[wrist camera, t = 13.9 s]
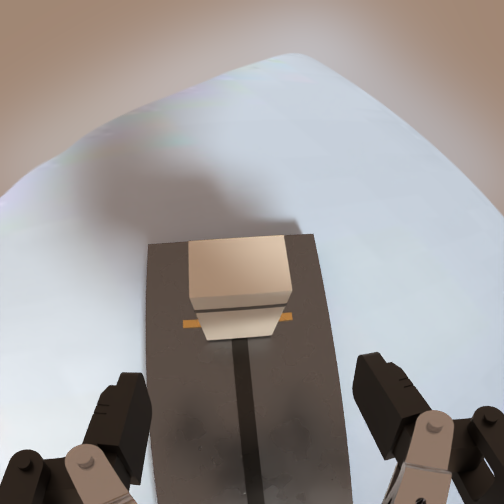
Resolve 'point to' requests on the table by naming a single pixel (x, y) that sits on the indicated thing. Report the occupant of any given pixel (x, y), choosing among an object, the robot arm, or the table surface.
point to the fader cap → (239, 285)
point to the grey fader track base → (244, 395)
